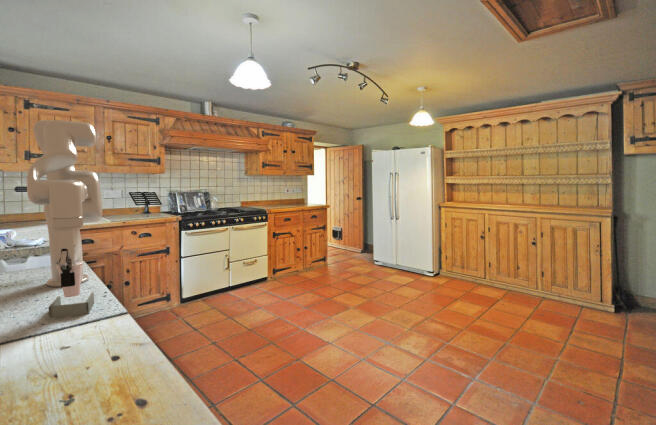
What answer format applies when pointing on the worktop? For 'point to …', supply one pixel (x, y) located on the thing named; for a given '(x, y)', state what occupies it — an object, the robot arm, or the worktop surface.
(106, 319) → the worktop surface
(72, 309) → the bay
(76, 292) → the smoothie
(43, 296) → the worktop surface
